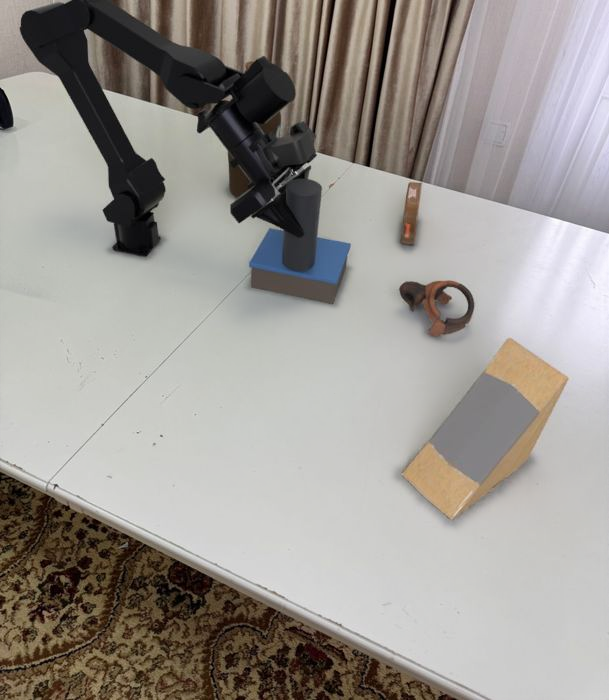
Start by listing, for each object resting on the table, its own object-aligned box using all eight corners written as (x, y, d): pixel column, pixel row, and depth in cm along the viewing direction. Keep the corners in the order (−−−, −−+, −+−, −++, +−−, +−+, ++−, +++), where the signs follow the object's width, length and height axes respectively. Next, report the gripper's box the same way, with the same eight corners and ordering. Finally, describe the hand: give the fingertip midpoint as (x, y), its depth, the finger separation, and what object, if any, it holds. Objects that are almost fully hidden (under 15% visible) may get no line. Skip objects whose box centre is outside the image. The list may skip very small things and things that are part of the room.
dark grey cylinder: (289, 273, 96) (295, 197, 87) (276, 256, 99) (280, 181, 91) (320, 267, 98) (328, 192, 89) (306, 250, 101) (312, 176, 92)
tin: (412, 253, 115) (421, 212, 109) (395, 250, 115) (403, 209, 109) (418, 214, 126) (426, 175, 120) (402, 211, 126) (410, 173, 121)
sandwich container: (398, 473, 77) (422, 387, 67) (477, 419, 84) (508, 335, 74) (451, 522, 72) (485, 437, 62) (529, 460, 80) (570, 376, 70)
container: (248, 288, 103) (249, 262, 100) (268, 252, 112) (269, 227, 108) (334, 305, 101) (337, 280, 98) (347, 267, 110) (351, 243, 106)
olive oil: (230, 204, 124) (228, 73, 107) (223, 179, 131) (221, 54, 115) (282, 201, 126) (288, 73, 109) (272, 177, 134) (277, 54, 117)
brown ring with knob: (462, 305, 104) (485, 285, 97) (449, 355, 101) (471, 338, 93) (397, 278, 104) (415, 256, 96) (381, 327, 100) (398, 308, 92)
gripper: (251, 133, 77) (324, 233, 82) (309, 89, 91) (370, 177, 95) (198, 176, 85) (268, 266, 89) (259, 130, 98) (318, 210, 102)
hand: (309, 227), depth 94 cm, fingers closed on dark grey cylinder, 5 cm apart
